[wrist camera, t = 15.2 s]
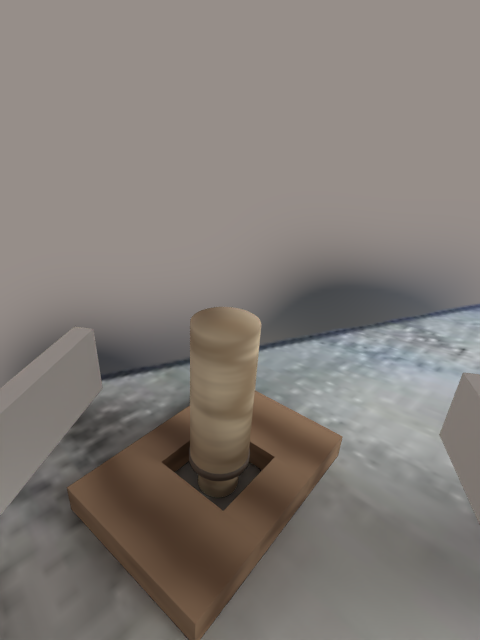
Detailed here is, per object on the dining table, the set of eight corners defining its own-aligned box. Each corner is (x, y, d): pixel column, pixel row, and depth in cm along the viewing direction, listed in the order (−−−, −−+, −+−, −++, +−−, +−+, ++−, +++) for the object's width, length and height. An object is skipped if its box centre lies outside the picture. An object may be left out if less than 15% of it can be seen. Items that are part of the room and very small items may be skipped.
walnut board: (229, 395, 44) (230, 377, 43) (337, 455, 37) (342, 436, 36) (71, 509, 30) (66, 487, 29) (195, 646, 22) (195, 624, 21)
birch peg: (215, 449, 37) (222, 300, 29) (258, 478, 34) (276, 322, 27) (176, 482, 33) (173, 321, 26) (220, 517, 30) (230, 348, 23)
